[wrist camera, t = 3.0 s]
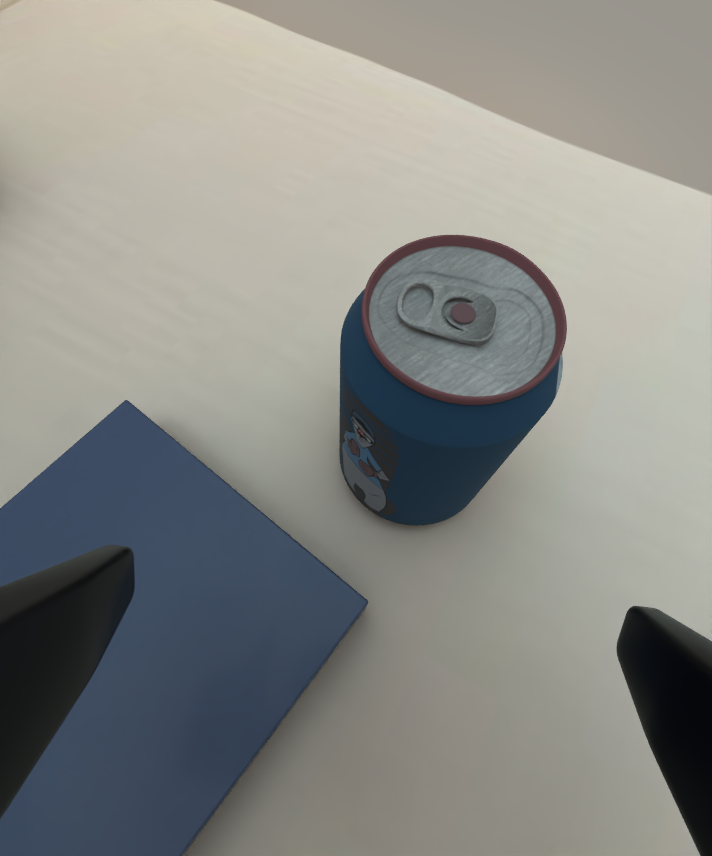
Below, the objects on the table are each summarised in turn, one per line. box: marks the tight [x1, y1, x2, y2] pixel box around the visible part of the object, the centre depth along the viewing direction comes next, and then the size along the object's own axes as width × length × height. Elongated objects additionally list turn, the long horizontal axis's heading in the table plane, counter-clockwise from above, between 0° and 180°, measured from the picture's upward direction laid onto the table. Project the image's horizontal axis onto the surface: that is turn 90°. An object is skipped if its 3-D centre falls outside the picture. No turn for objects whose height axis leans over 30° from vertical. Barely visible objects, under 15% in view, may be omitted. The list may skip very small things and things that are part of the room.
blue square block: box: [0, 400, 368, 856], centre depth 19 cm, size 14×14×3 cm
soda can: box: [340, 235, 567, 525], centre depth 19 cm, size 7×7×12 cm
